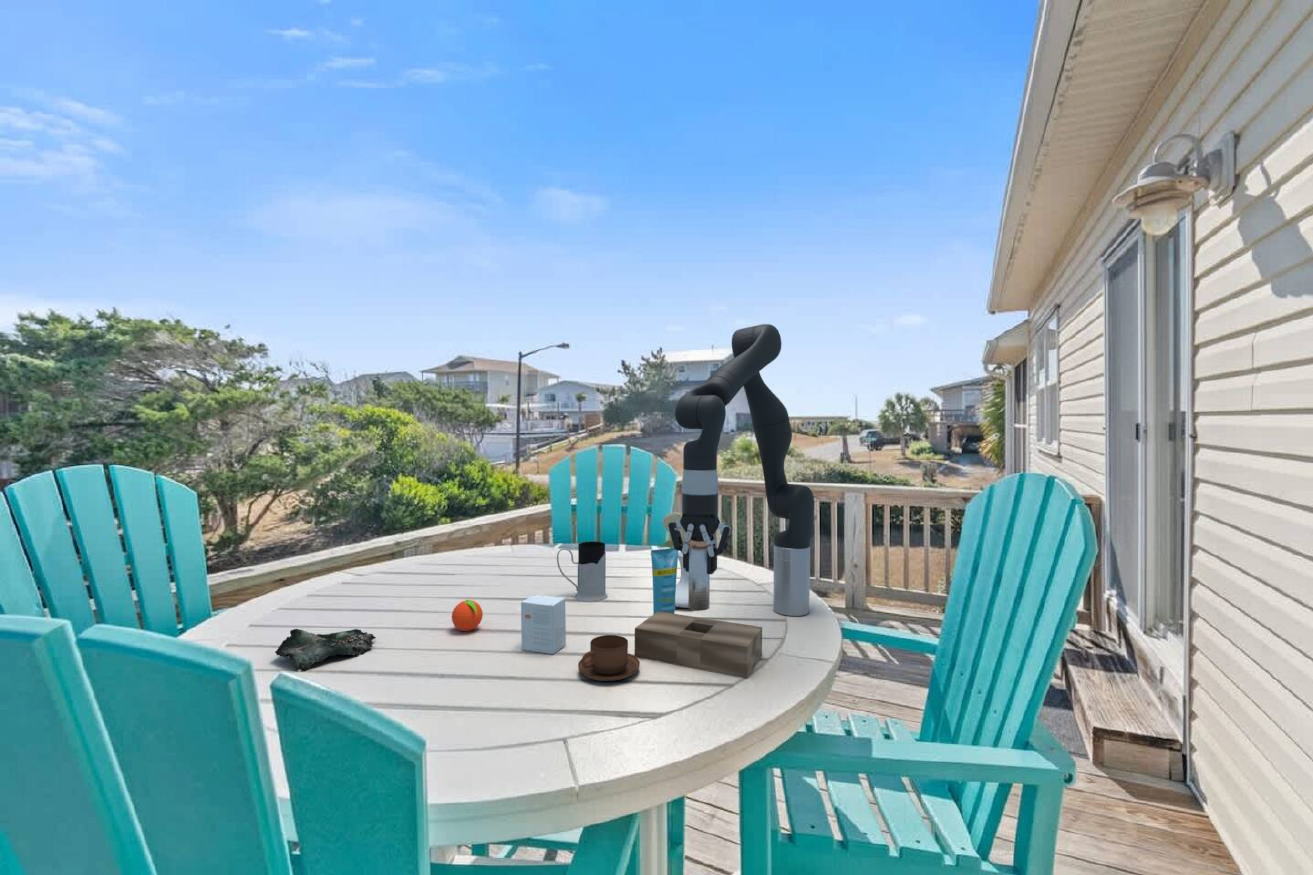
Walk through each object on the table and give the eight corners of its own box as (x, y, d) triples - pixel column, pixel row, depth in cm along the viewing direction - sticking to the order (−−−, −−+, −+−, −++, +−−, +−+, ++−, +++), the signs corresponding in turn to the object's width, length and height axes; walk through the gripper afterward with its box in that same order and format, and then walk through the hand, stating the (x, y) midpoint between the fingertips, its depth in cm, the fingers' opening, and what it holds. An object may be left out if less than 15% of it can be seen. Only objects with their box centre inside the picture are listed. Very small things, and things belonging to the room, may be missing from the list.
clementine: (490, 631, 132) (490, 600, 132) (463, 639, 127) (463, 607, 127) (473, 622, 137) (473, 593, 137) (446, 630, 132) (446, 600, 132)
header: (657, 637, 129) (658, 611, 128) (761, 655, 119) (762, 627, 119) (634, 656, 118) (634, 628, 118) (746, 678, 108) (747, 647, 108)
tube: (656, 634, 130) (657, 551, 130) (645, 628, 135) (646, 547, 134) (682, 628, 135) (683, 548, 134) (671, 622, 139) (671, 544, 138)
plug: (692, 602, 121) (692, 536, 121) (713, 605, 119) (714, 538, 119) (684, 608, 117) (684, 540, 117) (706, 612, 115) (706, 542, 115)
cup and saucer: (615, 692, 102) (615, 659, 102) (565, 677, 108) (565, 645, 108) (651, 669, 112) (651, 638, 112) (603, 655, 118) (603, 626, 118)
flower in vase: (713, 602, 154) (713, 511, 154) (693, 614, 145) (693, 517, 144) (672, 595, 161) (672, 508, 161) (650, 605, 152) (651, 512, 151)
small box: (566, 645, 124) (566, 597, 123) (553, 655, 118) (553, 605, 118) (534, 640, 126) (534, 594, 126) (520, 650, 121) (520, 601, 121)
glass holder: (605, 602, 155) (605, 547, 154) (553, 601, 155) (553, 547, 154) (608, 592, 163) (608, 541, 163) (559, 592, 163) (559, 540, 163)
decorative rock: (349, 614, 132) (394, 619, 125) (349, 641, 131) (394, 648, 125) (263, 636, 114) (310, 643, 108) (262, 667, 114) (309, 676, 108)
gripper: (738, 490, 118) (737, 571, 119) (675, 487, 124) (675, 564, 125) (727, 494, 111) (727, 580, 112) (661, 491, 117) (661, 572, 118)
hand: (699, 571), depth 118 cm, fingers closed on plug, 4 cm apart
